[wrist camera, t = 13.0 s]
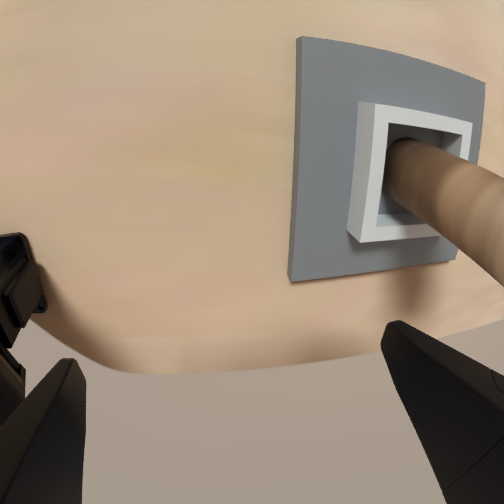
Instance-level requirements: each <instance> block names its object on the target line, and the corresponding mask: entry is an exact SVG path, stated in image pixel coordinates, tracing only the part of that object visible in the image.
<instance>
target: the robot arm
mask: <svg viewBox="0 0 504 504" xmlns="http://www.w3.org/2000/svg"><path fill="white" fill-rule="evenodd" d="M17 238H18V239H19V240H20V242H18V240H17ZM40 305H41V306H43V307H41V306H40ZM47 307H48V305H47V302H46V299H45V297H44V294H43V289H42V286H41V283H40V280H39V277H38V274H37V271H36V268H35V265H34V263H33V261H32V259H31V256H30V252H29V249H28V246H27V242H26V239H25V236H24V235H23V234H22V233H19V232H18V233H11V234H4V235H0V504H82V478H83V461H84V447H85V435H86V380H85V377H84V375H83V373H82V371H81V369H80V367H79V365H78V363H77V361H76V360H75V359H73V358H63V359H61V360H59V362H58V363H57V364H56V365H55V366H54V367H53V368H52V369H51V370H50V371H49V373H47V375H46V376H45V377H44V378H43V379H42V380H41V381H40V382H39V383H38V385H37V386H36V387H35V388H34V389H33V390H32V391H31V392H30V394H29V395H28V396H27V397H26V398H25V377H26V376H25V375H26V370H25V368H24V367H23V366H22V365H21V364H19V363H18V362H17V361H16V360H15V358H14V357H13V356H12V355H11V354H10V352H9V351H8V350H7V348H12V346H13V344H14V342H15V340H16V338H17V335H18V333H19V331H20V329H21V328H24V327H25V326H26V324H27V322H28V320H29V318H30V316H31V314H32V313H45V312H46V310H47ZM381 350H382V353H383V355H384V358H385V361H386V363H387V366H388V369H389V371H390V374H391V377H392V380H393V382H394V385H395V387H396V390H397V392H398V394H399V396H400V398H401V401H402V403H403V404H404V407H405V409H406V411H407V413H408V415H409V417H410V420H411V422H412V423H413V426H414V428H415V430H416V433H417V435H418V437H419V439H420V441H421V443H422V446H423V448H424V450H425V453H426V455H427V457H428V459H429V462H430V464H431V466H432V469H433V471H434V473H435V476H436V478H437V481H438V483H439V485H440V488H441V490H442V493H443V496H444V498H445V501H446V503H447V504H504V376H503V375H501V374H499V373H497V372H495V371H494V370H491V369H489V368H488V367H486V366H484V365H483V364H481V363H479V362H477V361H475V360H473V359H472V358H470V357H468V356H466V355H464V354H462V353H460V352H459V351H457V350H455V349H453V348H451V347H449V346H448V345H445V344H444V343H442V342H440V341H438V340H436V339H434V338H433V337H431V336H429V335H427V334H425V333H423V332H421V331H420V330H418V329H416V328H414V327H412V326H410V325H408V324H406V323H405V322H403V321H401V320H397V321H392V322H389V323H388V324H387V325H386V328H385V331H384V334H383V337H382V340H381Z"/></svg>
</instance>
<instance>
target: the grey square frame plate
mask: <svg viewBox="0 0 504 504" xmlns="http://www.w3.org/2000/svg"><path fill="white" fill-rule="evenodd" d="M484 100H485V83H484V82H482V81H480V80H477V79H475V78H472V77H469V76H467V75H464V74H462V73H459V72H456V71H453V70H451V69H448V68H445V67H442V66H439V65H436V64H433V63H429V62H426V61H423V60H420V59H416V58H413V57H409V56H405V55H402V54H398V53H394V52H390V51H386V50H381V49H377V48H372V47H368V46H363V45H358V44H352V43H347V42H341V41H335V40H328V39H321V38H313V37H305V36H301V37H299V38H297V39H296V106H295V139H294V165H293V188H292V208H291V226H290V242H289V258H288V273H287V274H288V276H289V278H290V280H291V282H294V281H302V280H311V279H319V278H327V277H335V276H343V275H351V274H359V273H366V272H374V271H381V270H388V269H395V268H403V267H409V266H416V265H423V264H430V263H436V262H443V261H449V260H455V258H456V255H457V251H458V248H457V247H456V246H455V245H454V244H452V243H451V242H450V241H449V240H447V239H446V238H445V237H443V236H442V235H441V234H440V233H438V232H437V231H436V230H434V229H433V228H432V227H430V226H429V225H428V224H426V223H425V222H424V221H422V220H421V219H419V218H418V217H417V216H415V215H414V214H413V213H411V212H410V211H408V210H407V209H406V208H404V207H403V206H401V205H400V204H398V203H397V202H396V201H394V200H393V199H391V198H390V197H388V196H387V195H386V194H385V193H384V192H383V190H382V181H383V173H384V164H385V155H386V149H387V148H388V147H389V146H390V145H391V144H392V143H393V142H394V141H396V140H398V139H400V138H405V137H410V138H414V139H417V140H419V141H422V142H425V143H427V144H430V145H432V146H435V147H437V148H440V149H442V150H444V151H447V152H449V153H451V154H454V155H456V156H458V157H461V158H463V159H465V160H467V161H470V162H472V163H474V164H476V165H477V162H478V156H479V149H480V141H481V133H482V124H483V113H484Z"/></svg>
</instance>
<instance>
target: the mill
mask: <svg viewBox="0 0 504 504" xmlns="http://www.w3.org/2000/svg"><path fill="white" fill-rule="evenodd" d="M382 190H383V192H384V193H385V194H386V195H387V196H388V197H390V198H391V199H393V200H394V201H396V202H397V203H398V204H400V205H401V206H403V207H404V208H406V209H407V210H408V211H410V212H411V213H413V214H414V215H415V216H417V217H418V218H419V219H421V220H422V221H424V222H425V223H426V224H428V225H429V226H430V227H432V228H433V229H434V230H436V231H437V232H438V233H440V234H441V235H442V236H443V237H445V238H446V239H447V240H449V241H450V242H451V243H452V244H454V245H455V246H456V247H457V248H459V249H460V250H461V251H462V252H464V253H465V254H466V255H467V256H469V257H470V258H471V259H472V260H473V261H475V262H476V263H477V264H478V265H479V266H480V267H482V268H483V269H484V270H485V271H486V272H487V273H489V274H490V275H491V276H492V277H493V278H494V279H495V280H497V281H498V282H499V283H500V284H501V285H502V286H503V287H504V178H502V177H500V176H499V175H497V174H495V173H493V172H491V171H489V170H486V169H484V168H482V167H480V166H478V165H476V164H474V163H472V162H470V161H467V160H465V159H463V158H461V157H458V156H456V155H454V154H451V153H449V152H447V151H444V150H442V149H440V148H437V147H435V146H432V145H430V144H427V143H425V142H422V141H419V140H417V139H414V138H410V137H405V138H400V139H398V140H396V141H394V142H393V143H392V144H391V145H390V146H389V147H388V148H387V149H386V155H385V164H384V173H383V181H382Z"/></svg>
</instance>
